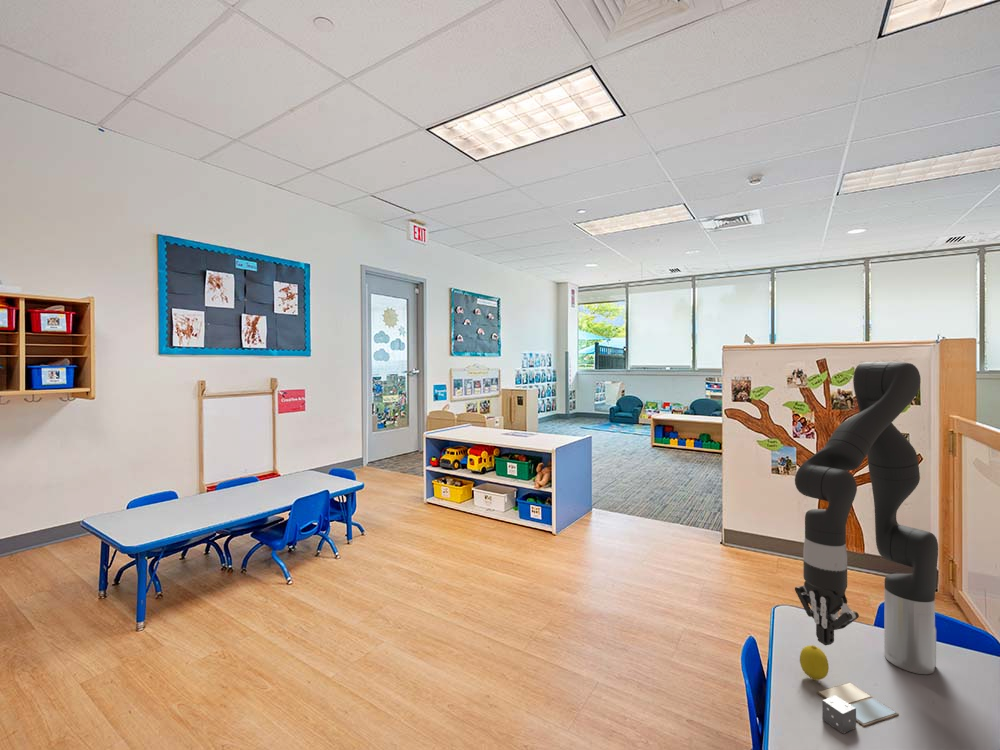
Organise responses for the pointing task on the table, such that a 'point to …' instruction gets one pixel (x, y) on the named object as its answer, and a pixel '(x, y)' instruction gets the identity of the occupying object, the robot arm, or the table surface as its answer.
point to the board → (860, 703)
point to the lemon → (814, 662)
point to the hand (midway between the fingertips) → (824, 642)
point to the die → (839, 714)
